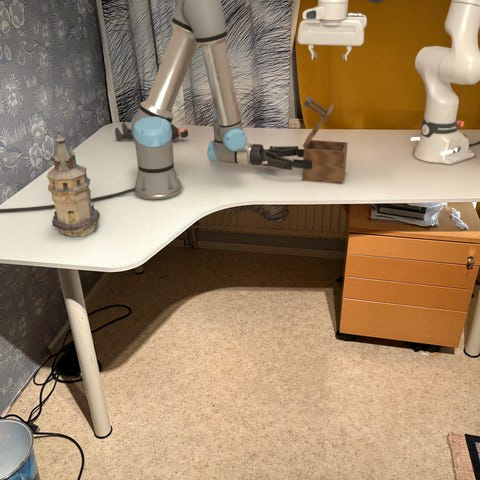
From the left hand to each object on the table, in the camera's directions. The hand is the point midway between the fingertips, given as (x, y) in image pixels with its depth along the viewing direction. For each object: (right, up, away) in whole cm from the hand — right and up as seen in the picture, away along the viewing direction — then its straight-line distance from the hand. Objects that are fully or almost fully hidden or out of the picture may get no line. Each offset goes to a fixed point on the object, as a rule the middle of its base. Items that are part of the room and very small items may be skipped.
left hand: (314, 159), depth 185 cm
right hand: (+2, +28, -17) cm, 33 cm away
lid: (+1, +10, -6) cm, 12 cm away
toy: (-62, +14, +39) cm, 74 cm away
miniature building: (-73, -25, -29) cm, 82 cm away
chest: (+4, -6, +2) cm, 7 cm away
